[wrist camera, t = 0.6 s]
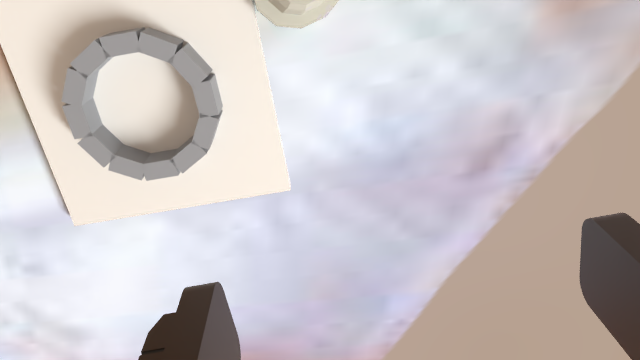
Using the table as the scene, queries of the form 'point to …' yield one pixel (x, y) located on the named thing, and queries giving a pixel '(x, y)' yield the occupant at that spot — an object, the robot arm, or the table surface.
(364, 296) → the table surface
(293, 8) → the rod with end cap
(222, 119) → the collar plate
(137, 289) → the table surface
